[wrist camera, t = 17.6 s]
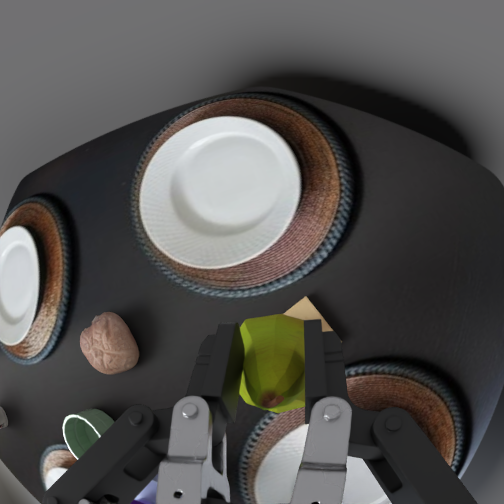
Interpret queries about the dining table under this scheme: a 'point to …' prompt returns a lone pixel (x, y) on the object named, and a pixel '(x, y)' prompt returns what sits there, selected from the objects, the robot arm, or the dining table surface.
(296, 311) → the board
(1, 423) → the coffee cup
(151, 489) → the potion bottle
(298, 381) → the fruit
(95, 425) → the bowl
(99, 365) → the brown rounded lump
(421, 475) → the robot arm
